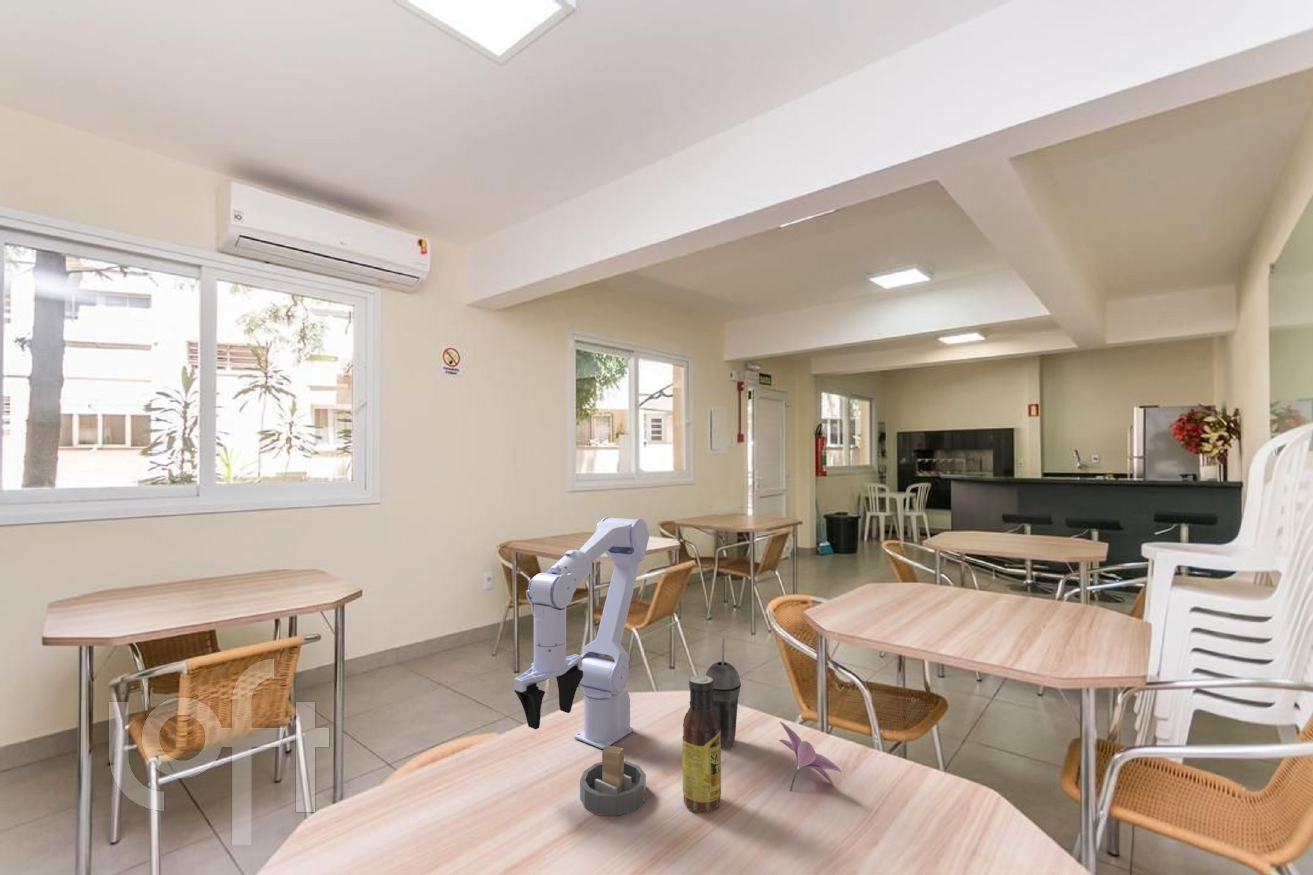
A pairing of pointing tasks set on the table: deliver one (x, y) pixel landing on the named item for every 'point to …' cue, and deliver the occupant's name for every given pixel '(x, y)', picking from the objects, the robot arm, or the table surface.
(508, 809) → the table surface
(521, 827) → the table surface
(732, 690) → the beverage cup
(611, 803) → the grey round bowl
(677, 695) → the table surface
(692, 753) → the sauce bottle
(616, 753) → the wooden jenga block
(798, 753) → the lily
